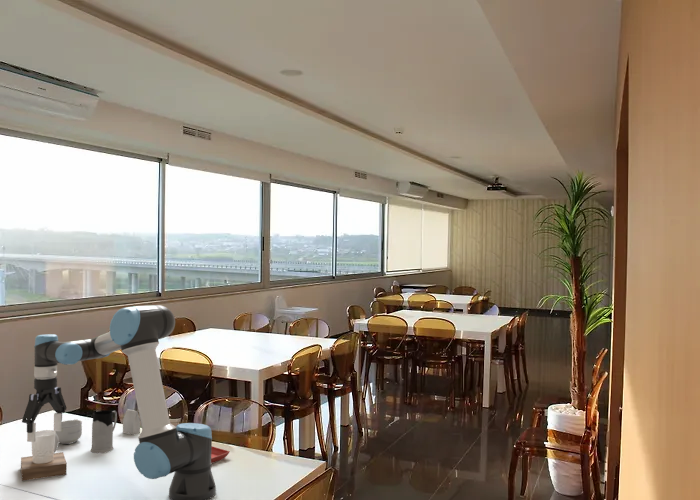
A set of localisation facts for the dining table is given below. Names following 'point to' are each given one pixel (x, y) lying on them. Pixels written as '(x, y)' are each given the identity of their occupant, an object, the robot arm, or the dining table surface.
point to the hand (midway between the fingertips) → (44, 436)
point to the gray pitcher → (103, 431)
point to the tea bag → (131, 422)
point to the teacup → (70, 431)
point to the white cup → (43, 446)
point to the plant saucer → (218, 454)
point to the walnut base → (43, 467)
